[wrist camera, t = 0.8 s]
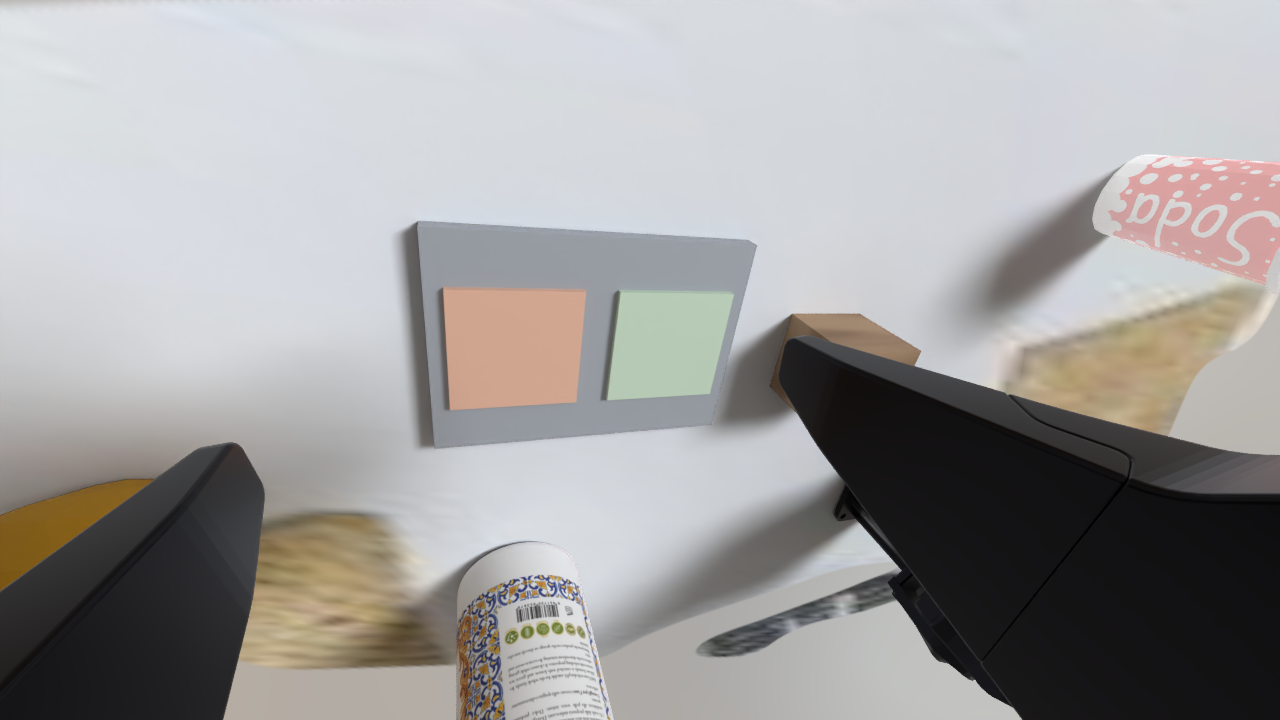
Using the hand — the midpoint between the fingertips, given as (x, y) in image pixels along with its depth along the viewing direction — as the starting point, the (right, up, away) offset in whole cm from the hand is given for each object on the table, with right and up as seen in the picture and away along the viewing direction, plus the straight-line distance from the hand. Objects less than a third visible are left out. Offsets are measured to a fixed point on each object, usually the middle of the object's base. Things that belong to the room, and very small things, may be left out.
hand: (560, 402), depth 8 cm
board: (-1, +2, +14) cm, 14 cm away
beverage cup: (+30, +11, +21) cm, 38 cm away
